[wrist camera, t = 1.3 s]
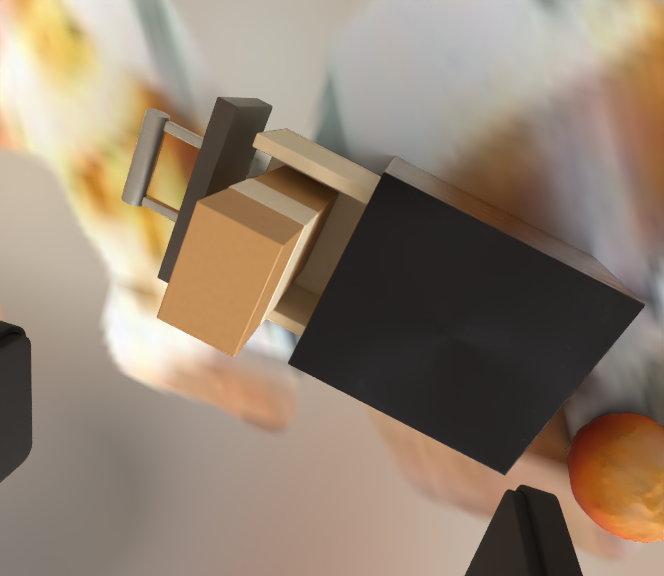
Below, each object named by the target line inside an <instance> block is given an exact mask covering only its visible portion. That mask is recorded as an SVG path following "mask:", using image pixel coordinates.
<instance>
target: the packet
mask: <svg viewBox="0 0 664 576" xmlns="http://www.w3.org/2000/svg"><path fill="white" fill-rule="evenodd" d="M338 195H339V193H338V192H337V191H335V190H333V189H331V188H329V187H327V186H325V185H323V184H321V183H319V182H317V181H315V180H313V179H311V178H309V177H307V176H305V175H303V174H301V173H300V172H298V171H296V170H294V169H292V168H290V167H288V166H286V165H284V166H282V167H279V168H277V169H275V170H272V171H270V172H267V173H265V174H262V175H260V176H257V177H255V178H249V179H246V180H244V181H241V182H239V183H236V184H234V185H231V186H229V188H228V189H225V190H223V191H221V192H218V193H216V194H213V195H211V196H208V197H206V198H203V199H201V200H198V201H197V203H196V206H195V209H194V211H193V214H192V217H191V220H190V223H189V226H188V229H187V232H186V235H185V237H184V240H183V243H182V246H181V249H180V252H179V255H178V258H177V260H176V263H175V266H174V269H173V272H172V275H171V278H170V281H169V283H168V286H167V289H166V292H165V295H164V298H163V301H162V304H161V307H160V309H159V312H158V315H157V318H158V319H160V320H162V321H164V322H166V323H168V324H170V325H172V326H174V327H176V328H178V329H180V330H182V331H183V332H185V333H187V334H189V335H191V336H193V337H195V338H197V339H199V340H201V341H203V342H205V343H207V344H209V345H211V346H212V347H214V348H216V349H218V350H220V351H222V352H224V353H226V354H228V355H230V356H232V357H235V356H236V355H237V353H238V352H239V351H240V350H241V348H242V347H243V346H244V344H245V343H246V342H247V341H248V339H249V338H250V337H251V336H252V334H253V333H254V332H255V330H256V329H257V328H258V327H259V326H261V325H262V323H263V322H264V321H265V319H266V318H267V317H268V316H269V314H270V313H271V312H272V310H273V309H274V308H275V307H276V305H277V303H278V301H279V300H280V298H281V297H282V296H283V295H284V293H285V292H286V291H287V290H288V288H289V287H290V286H291V284H292V283H293V282H294V281H295V279H296V278H297V277H298V275H299V274H300V273H301V272H302V270H303V269H304V267H305V265H306V263H307V261H308V258H309V256H310V254H311V252H312V250H313V248H314V246H315V244H316V241H317V239H318V237H319V235H320V233H321V231H322V229H323V227H324V224H325V222H326V220H327V218H328V216H329V214H330V212H331V210H332V207H333V205H334V203H335V201H336V199H337V197H338Z"/></svg>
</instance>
